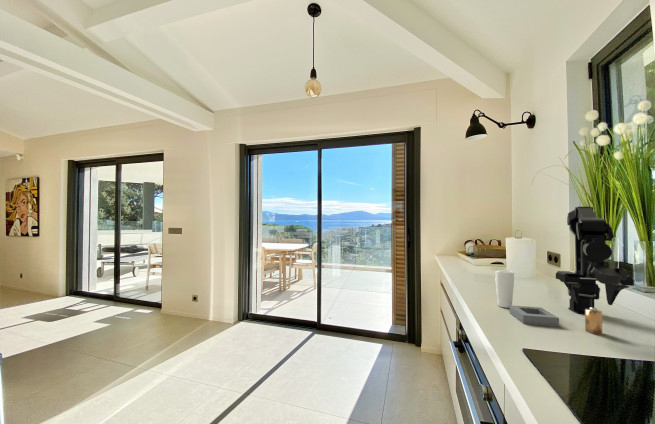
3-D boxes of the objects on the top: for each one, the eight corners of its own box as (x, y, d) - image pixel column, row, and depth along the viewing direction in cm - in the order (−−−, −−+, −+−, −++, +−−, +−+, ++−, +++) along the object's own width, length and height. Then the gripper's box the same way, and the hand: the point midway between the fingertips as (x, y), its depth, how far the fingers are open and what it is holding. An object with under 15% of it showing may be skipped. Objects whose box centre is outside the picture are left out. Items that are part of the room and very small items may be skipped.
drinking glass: (517, 309, 110) (517, 273, 110) (499, 308, 111) (499, 272, 111) (509, 304, 116) (509, 270, 117) (492, 303, 118) (492, 269, 118)
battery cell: (596, 330, 90) (596, 306, 90) (605, 335, 86) (605, 310, 86) (582, 329, 91) (581, 305, 91) (590, 334, 87) (590, 309, 87)
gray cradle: (541, 315, 103) (541, 307, 103) (559, 326, 93) (559, 317, 93) (509, 312, 106) (509, 305, 106) (523, 323, 95) (523, 315, 95)
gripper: (576, 259, 83) (576, 309, 83) (650, 262, 79) (651, 315, 79) (554, 254, 94) (554, 298, 94) (618, 256, 90) (619, 303, 89)
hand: (593, 303), depth 89 cm, fingers open, 9 cm apart
